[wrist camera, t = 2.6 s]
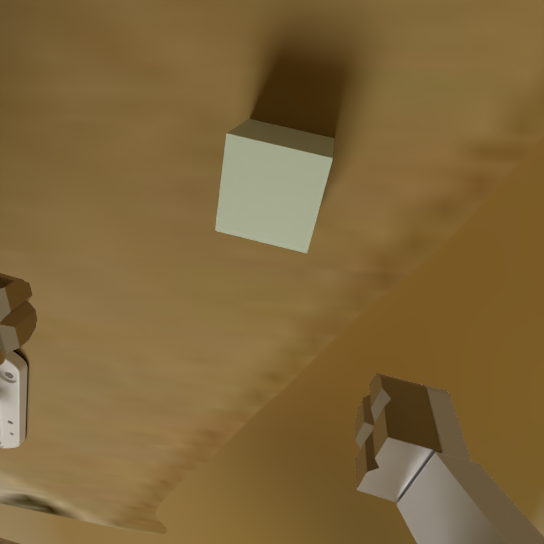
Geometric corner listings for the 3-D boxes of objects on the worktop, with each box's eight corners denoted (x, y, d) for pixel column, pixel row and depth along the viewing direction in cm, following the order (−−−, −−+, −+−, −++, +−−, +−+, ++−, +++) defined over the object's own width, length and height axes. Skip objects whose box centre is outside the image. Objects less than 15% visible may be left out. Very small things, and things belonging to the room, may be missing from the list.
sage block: (313, 218, 23) (306, 253, 19) (238, 199, 24) (215, 230, 19) (334, 138, 21) (332, 158, 16) (249, 118, 21) (226, 133, 17)
